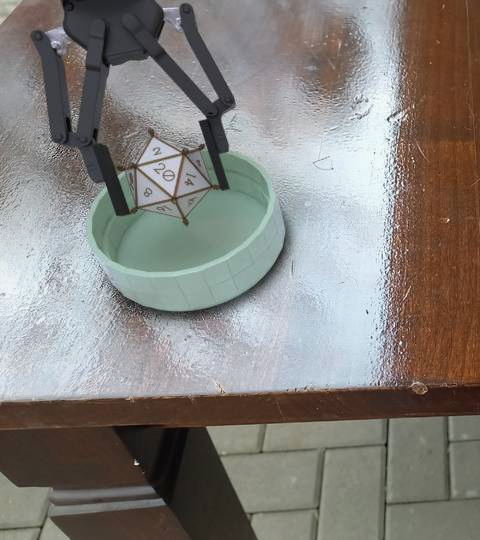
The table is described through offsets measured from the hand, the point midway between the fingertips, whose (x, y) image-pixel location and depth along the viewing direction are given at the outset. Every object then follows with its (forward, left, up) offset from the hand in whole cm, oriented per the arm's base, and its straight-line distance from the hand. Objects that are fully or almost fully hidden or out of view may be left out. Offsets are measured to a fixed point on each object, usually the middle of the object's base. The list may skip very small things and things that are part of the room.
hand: (175, 201), depth 65 cm
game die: (-1, +3, -4) cm, 5 cm away
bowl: (-1, +3, -10) cm, 10 cm away
